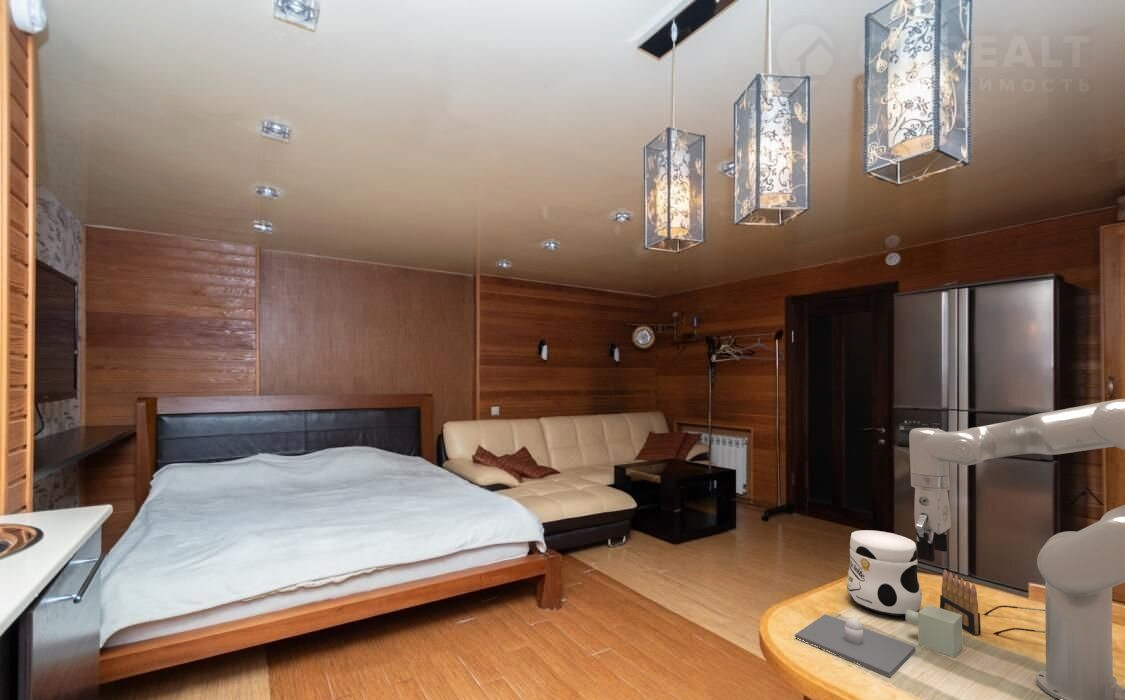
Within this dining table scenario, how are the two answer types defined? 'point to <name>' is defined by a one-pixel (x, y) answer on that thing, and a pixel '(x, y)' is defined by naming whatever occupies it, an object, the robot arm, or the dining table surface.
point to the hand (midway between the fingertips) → (932, 554)
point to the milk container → (883, 572)
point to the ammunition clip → (961, 602)
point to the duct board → (857, 644)
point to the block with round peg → (938, 629)
